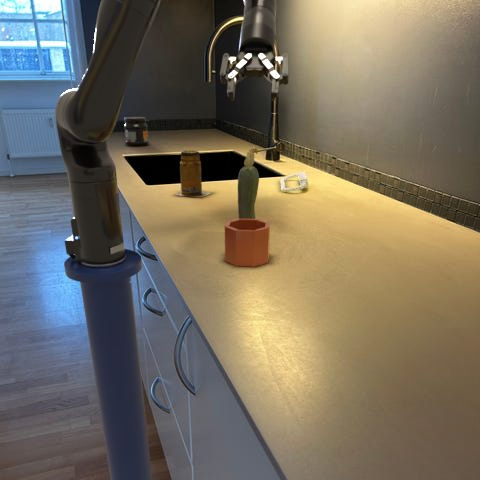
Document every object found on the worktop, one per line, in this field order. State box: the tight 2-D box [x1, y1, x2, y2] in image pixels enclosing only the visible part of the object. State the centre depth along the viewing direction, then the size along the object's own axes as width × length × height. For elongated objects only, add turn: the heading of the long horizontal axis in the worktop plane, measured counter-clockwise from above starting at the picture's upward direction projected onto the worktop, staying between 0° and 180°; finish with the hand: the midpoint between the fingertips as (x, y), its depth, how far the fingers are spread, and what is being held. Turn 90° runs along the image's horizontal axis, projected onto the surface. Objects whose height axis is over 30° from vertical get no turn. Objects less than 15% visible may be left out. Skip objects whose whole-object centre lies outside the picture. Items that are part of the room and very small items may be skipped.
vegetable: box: [237, 145, 260, 219], centre depth 106 cm, size 4×4×20 cm
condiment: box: [175, 150, 213, 198], centre depth 148 cm, size 7×8×12 cm
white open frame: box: [280, 171, 309, 193], centre depth 159 cm, size 20×8×4 cm, turn 177°
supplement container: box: [123, 116, 150, 148], centre depth 235 cm, size 10×10×12 cm
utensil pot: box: [224, 218, 271, 268], centre depth 100 cm, size 8×8×7 cm
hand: (252, 97), depth 105 cm, fingers open, 8 cm apart
